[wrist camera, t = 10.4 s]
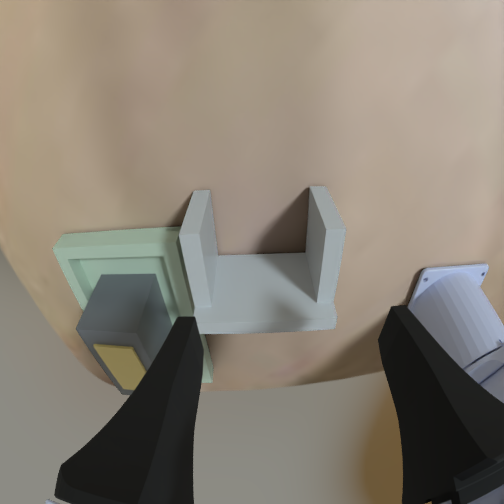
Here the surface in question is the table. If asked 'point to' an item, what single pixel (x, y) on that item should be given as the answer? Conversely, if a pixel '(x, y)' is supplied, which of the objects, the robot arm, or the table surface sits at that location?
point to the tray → (131, 267)
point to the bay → (264, 274)
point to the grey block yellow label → (125, 326)
